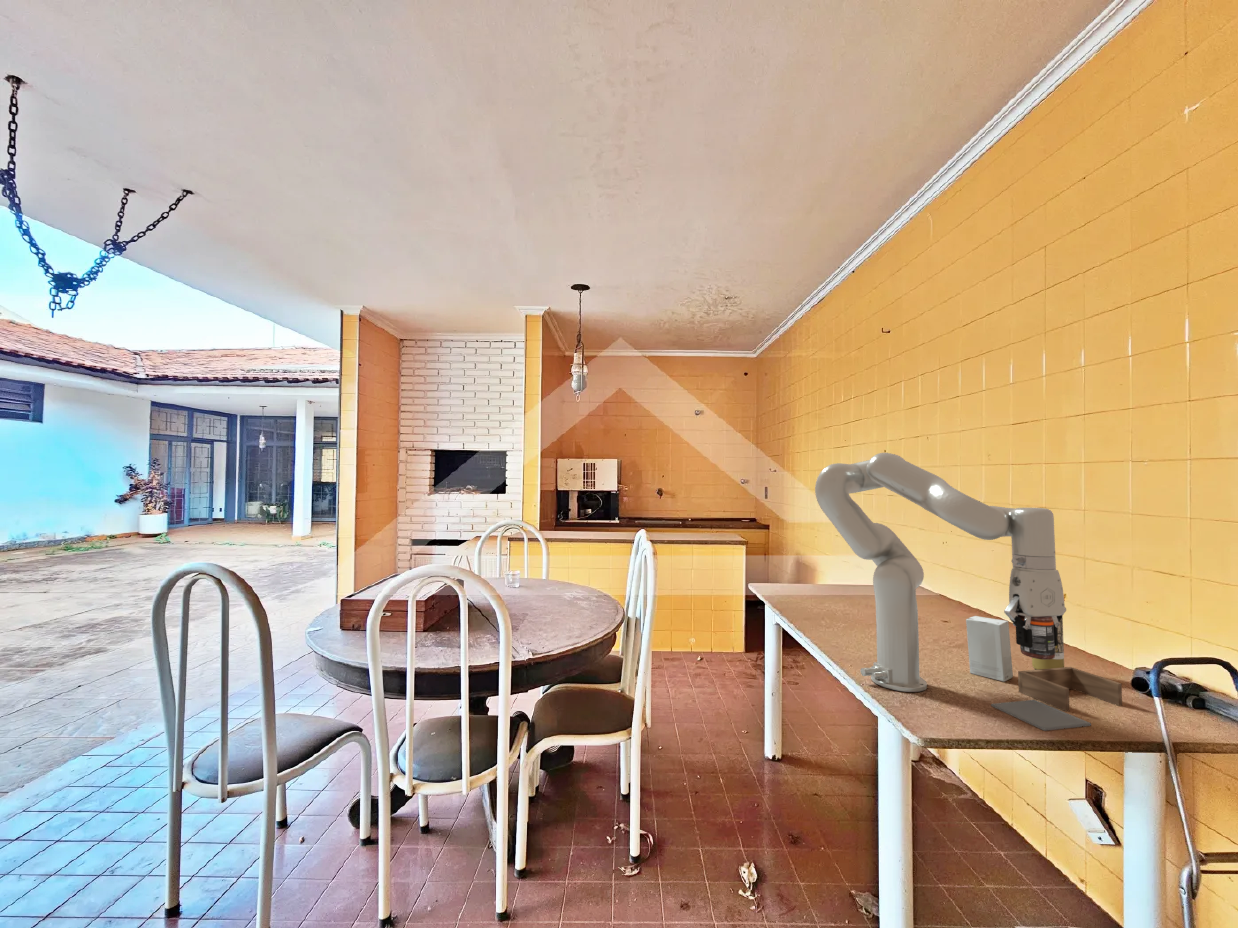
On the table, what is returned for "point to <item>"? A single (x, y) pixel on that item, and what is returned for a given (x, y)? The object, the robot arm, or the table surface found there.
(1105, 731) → the table surface
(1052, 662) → the paper tube
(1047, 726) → the grey mat
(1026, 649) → the supplement bottle
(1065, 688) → the wooden open-sided frame
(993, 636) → the skincare box
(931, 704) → the table surface
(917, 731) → the table surface
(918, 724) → the table surface
